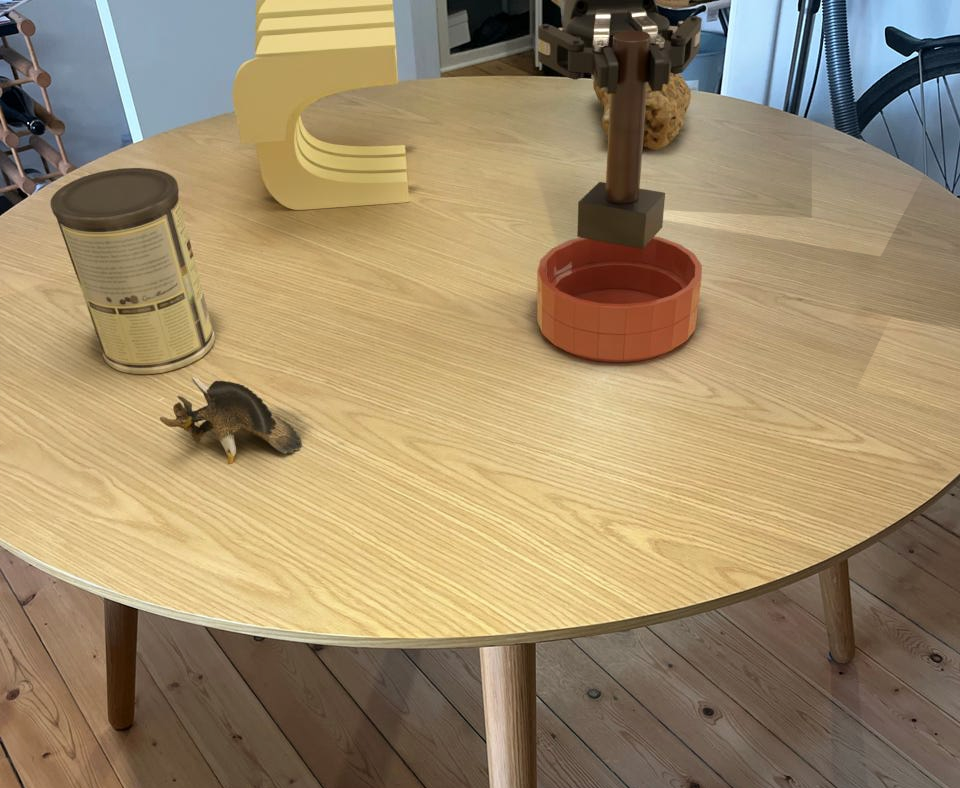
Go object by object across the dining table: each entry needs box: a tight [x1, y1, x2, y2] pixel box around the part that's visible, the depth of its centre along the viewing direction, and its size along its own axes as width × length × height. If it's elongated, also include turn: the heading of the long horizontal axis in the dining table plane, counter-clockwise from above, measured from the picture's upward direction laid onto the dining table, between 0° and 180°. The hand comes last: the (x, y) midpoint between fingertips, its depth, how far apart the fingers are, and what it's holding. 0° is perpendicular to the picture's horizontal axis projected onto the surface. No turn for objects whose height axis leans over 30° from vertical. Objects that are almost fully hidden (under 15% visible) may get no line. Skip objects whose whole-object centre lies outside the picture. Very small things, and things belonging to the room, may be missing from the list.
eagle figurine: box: [159, 376, 303, 464], centre depth 80 cm, size 8×7×9 cm
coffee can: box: [49, 167, 216, 375], centre depth 89 cm, size 10×10×14 cm
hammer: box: [576, 30, 666, 249], centre depth 82 cm, size 6×4×15 cm
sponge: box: [592, 73, 692, 151], centre depth 126 cm, size 13×8×20 cm
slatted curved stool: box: [231, 0, 410, 211], centre depth 113 cm, size 30×16×18 cm, turn 4°
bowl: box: [536, 235, 703, 363], centre depth 91 cm, size 14×14×6 cm
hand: (636, 77), depth 76 cm, fingers closed on hammer, 3 cm apart
